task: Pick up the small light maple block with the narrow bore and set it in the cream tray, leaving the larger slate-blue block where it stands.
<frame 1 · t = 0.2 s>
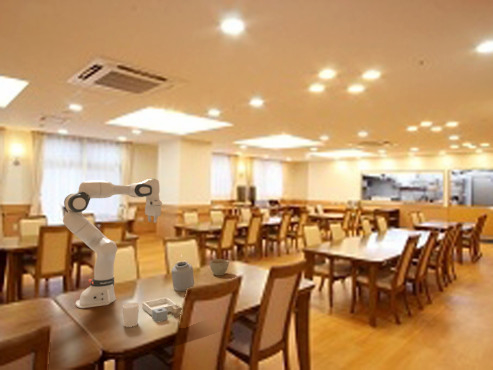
hand: (152, 222, 220), 48 cm above the table, tool pointing down, fingers open, 8 cm apart
jar: (181, 289, 225), on the table
slate block: (159, 319, 173), on the table
cream tray: (159, 309, 187), on the table
white cup: (130, 325, 166), on the table
planter bowl: (219, 274, 268), on the table
maple block: (176, 315, 179), on the table
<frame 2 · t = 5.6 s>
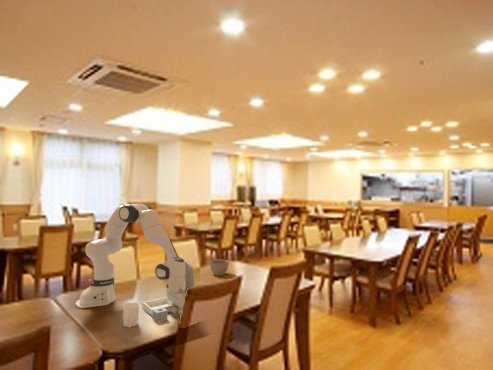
hand: (176, 311, 179), 2 cm above the table, tool pointing down, fingers closed on maple block, 4 cm apart
maple block: (176, 314, 179), on the table, touching gripper
everything else where it was.
when the fingers open (4 cm above the table, at t = 11.5 s): maple block drops 2 cm, resting on cream tray.
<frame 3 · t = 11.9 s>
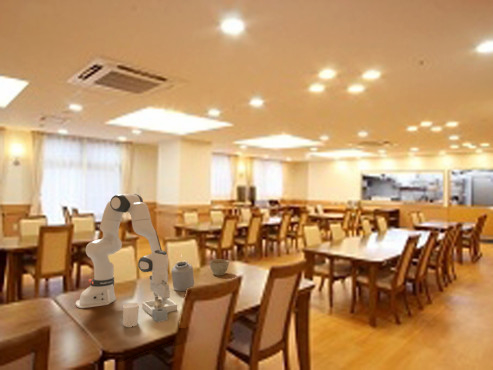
hand: (159, 302, 187), 4 cm above the table, tool pointing down, fingers open, 8 cm apart
maple block: (159, 308, 187), point 1 cm above the table, touching cream tray
everything else where it was.
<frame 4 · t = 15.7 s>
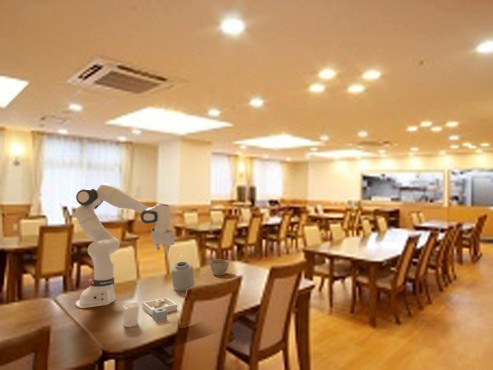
hand: (162, 250, 204), 31 cm above the table, tool pointing down, fingers open, 8 cm apart
nothing on the table moved.
at the end: maple block inside the target area on the cream tray (0.0 cm from its centre), point 0.6 cm above the cream tray's base; maple block tilted 0°; slate block moved 0.2 cm from its start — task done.
